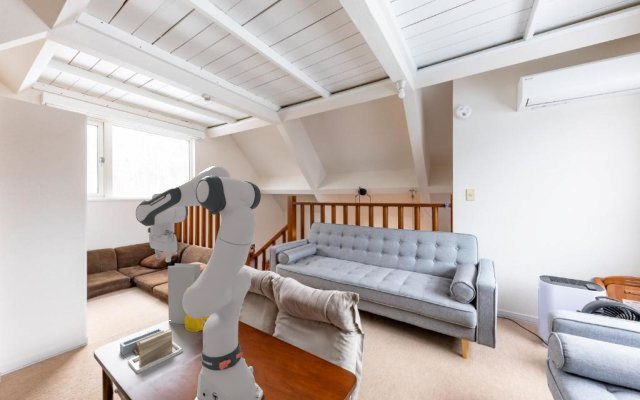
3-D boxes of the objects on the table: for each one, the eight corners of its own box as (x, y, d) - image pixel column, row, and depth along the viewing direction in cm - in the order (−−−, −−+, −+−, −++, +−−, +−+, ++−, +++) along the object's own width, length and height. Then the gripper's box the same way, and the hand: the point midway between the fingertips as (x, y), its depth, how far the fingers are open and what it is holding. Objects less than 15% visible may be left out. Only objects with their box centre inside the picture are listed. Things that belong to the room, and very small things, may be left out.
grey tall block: (201, 320, 132) (200, 264, 132) (195, 326, 127) (194, 267, 126) (175, 319, 134) (175, 263, 133) (168, 324, 128) (167, 266, 128)
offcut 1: (162, 346, 108) (162, 343, 108) (137, 356, 101) (137, 353, 101) (157, 342, 111) (157, 339, 111) (133, 352, 104) (133, 349, 104)
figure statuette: (215, 329, 123) (214, 285, 123) (203, 338, 116) (202, 291, 115) (187, 324, 129) (186, 281, 128) (174, 331, 121) (173, 286, 121)
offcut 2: (157, 341, 107) (157, 338, 107) (137, 348, 102) (137, 345, 102) (155, 338, 110) (155, 335, 110) (135, 345, 105) (135, 342, 105)
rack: (171, 346, 110) (170, 335, 110) (129, 364, 98) (129, 353, 98) (159, 337, 117) (159, 327, 117) (119, 353, 105) (119, 342, 105)
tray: (182, 353, 104) (182, 348, 104) (137, 376, 92) (137, 370, 91) (172, 345, 110) (172, 341, 110) (128, 365, 97) (128, 360, 97)
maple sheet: (172, 352, 104) (171, 330, 104) (141, 366, 96) (140, 343, 96) (170, 350, 106) (169, 329, 106) (139, 364, 97) (138, 341, 97)
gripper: (181, 230, 108) (181, 262, 108) (161, 227, 120) (161, 255, 120) (165, 232, 103) (165, 265, 103) (146, 228, 115) (146, 258, 115)
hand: (163, 260), depth 112 cm, fingers open, 8 cm apart
